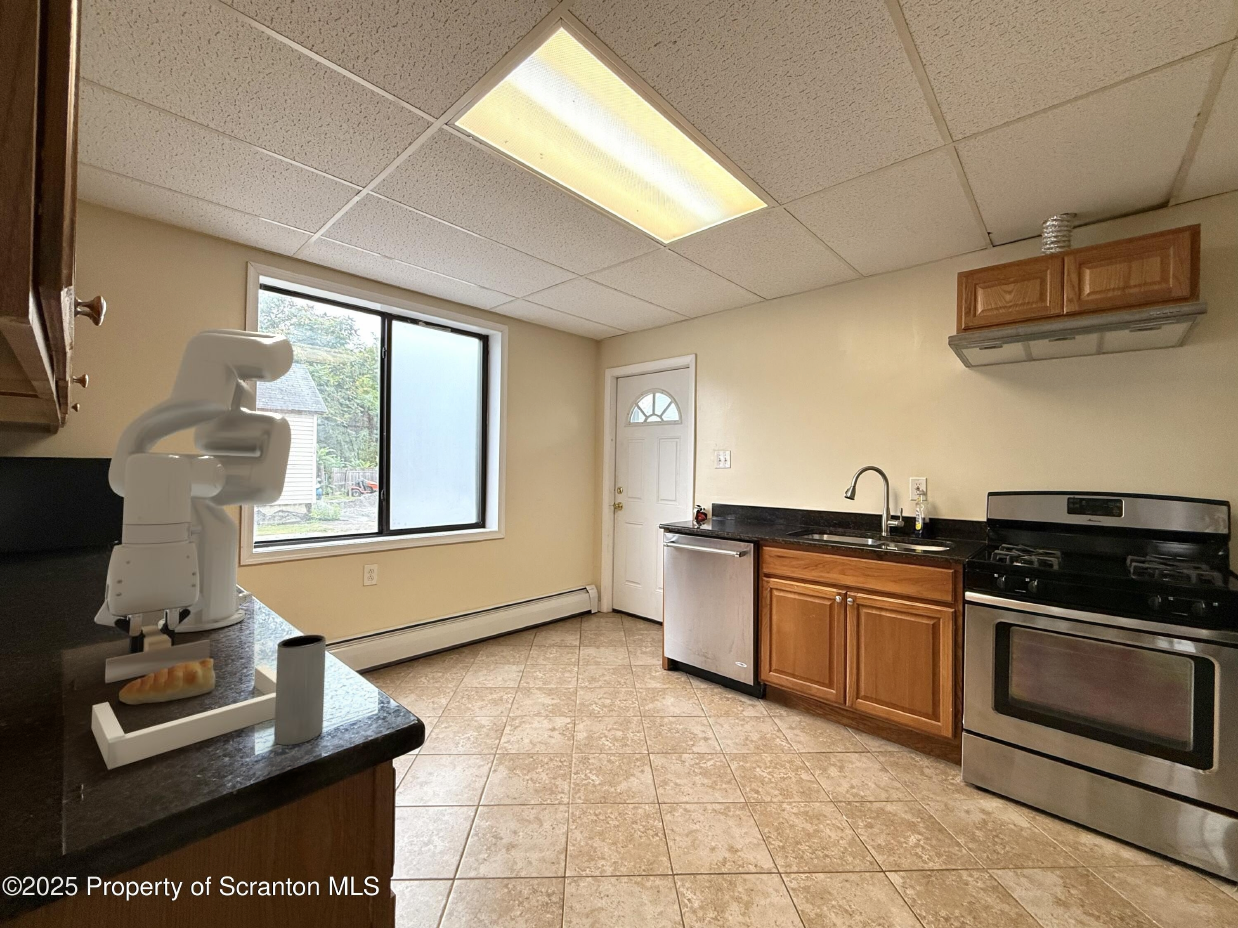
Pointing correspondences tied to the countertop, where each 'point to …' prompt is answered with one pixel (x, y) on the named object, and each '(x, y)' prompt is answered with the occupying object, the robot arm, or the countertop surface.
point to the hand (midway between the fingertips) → (151, 656)
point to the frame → (181, 725)
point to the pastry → (171, 683)
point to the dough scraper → (154, 656)
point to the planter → (299, 689)
